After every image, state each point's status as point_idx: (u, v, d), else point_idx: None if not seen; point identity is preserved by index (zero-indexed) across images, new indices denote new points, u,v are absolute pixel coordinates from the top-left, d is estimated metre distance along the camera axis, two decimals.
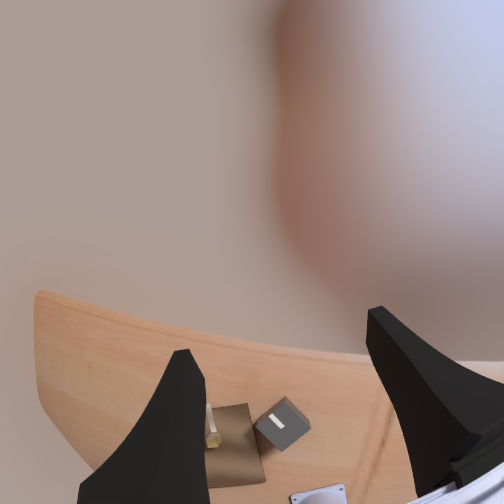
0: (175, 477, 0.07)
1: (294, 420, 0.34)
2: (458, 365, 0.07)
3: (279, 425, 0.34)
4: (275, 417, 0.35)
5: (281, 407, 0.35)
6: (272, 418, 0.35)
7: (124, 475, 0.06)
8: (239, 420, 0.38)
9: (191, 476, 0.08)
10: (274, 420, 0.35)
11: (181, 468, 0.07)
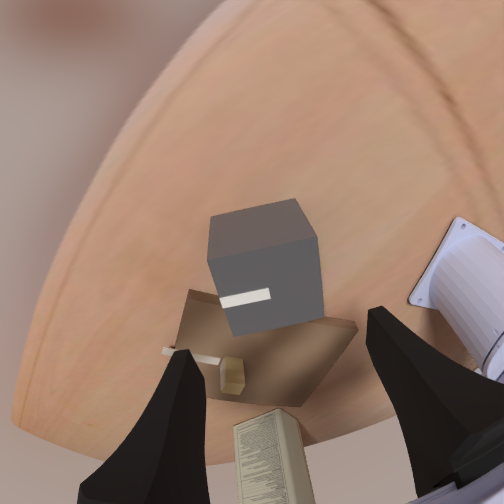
0: (175, 477, 0.07)
1: (269, 262, 0.14)
2: (458, 365, 0.07)
3: (260, 296, 0.15)
4: (234, 296, 0.15)
5: (216, 273, 0.14)
6: (231, 302, 0.15)
7: (124, 475, 0.06)
8: (215, 322, 0.21)
9: (191, 476, 0.08)
10: (240, 301, 0.15)
11: (181, 468, 0.07)
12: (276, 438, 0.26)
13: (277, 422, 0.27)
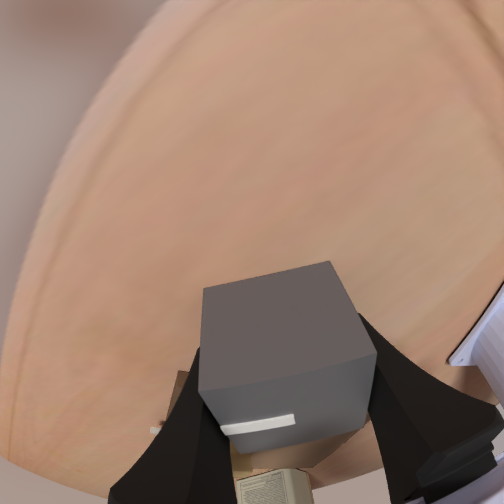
0: (209, 476, 0.07)
1: (297, 389, 0.08)
2: (431, 377, 0.07)
3: (279, 421, 0.09)
4: (242, 424, 0.09)
5: (213, 404, 0.08)
6: (238, 429, 0.09)
7: (159, 477, 0.06)
8: None
9: (221, 474, 0.08)
10: (251, 428, 0.09)
11: (213, 466, 0.07)
12: (285, 499, 0.20)
13: (286, 482, 0.21)
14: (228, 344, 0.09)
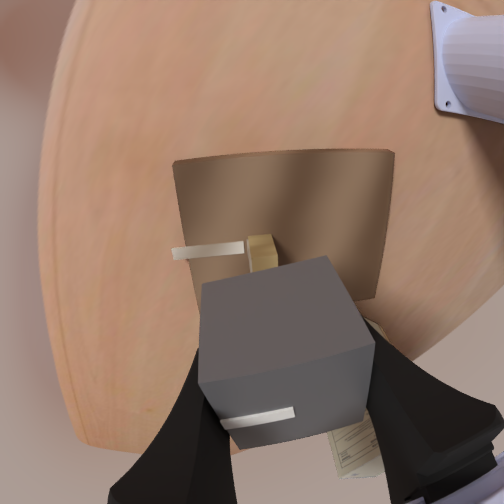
0: (208, 476, 0.07)
1: (296, 381, 0.08)
2: (431, 377, 0.07)
3: (279, 415, 0.09)
4: (241, 418, 0.09)
5: (213, 397, 0.08)
6: (237, 423, 0.09)
7: (159, 476, 0.06)
8: (215, 186, 0.17)
9: (221, 474, 0.08)
10: (251, 422, 0.09)
11: (213, 466, 0.07)
12: None
13: None
14: (227, 337, 0.09)
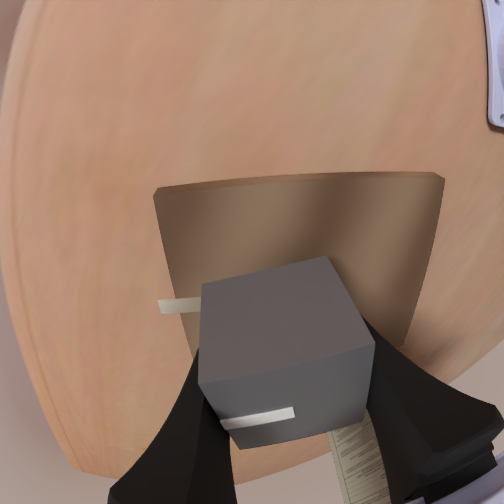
0: (208, 476, 0.07)
1: (296, 381, 0.08)
2: (431, 377, 0.07)
3: (279, 415, 0.09)
4: (241, 418, 0.09)
5: (213, 397, 0.08)
6: (238, 423, 0.09)
7: (158, 476, 0.06)
8: (213, 224, 0.12)
9: (221, 474, 0.08)
10: (251, 422, 0.09)
11: (213, 466, 0.07)
12: None
13: None
14: (227, 337, 0.09)
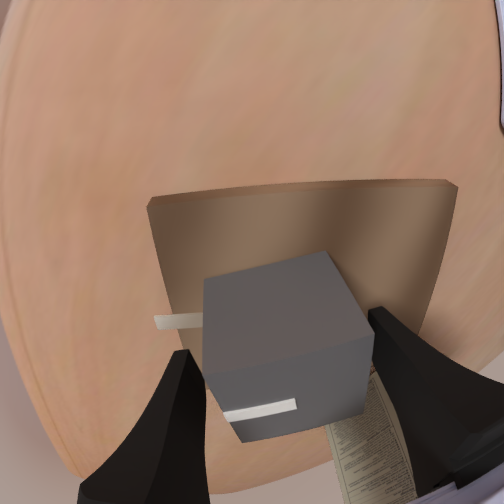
0: (175, 477, 0.07)
1: (298, 372, 0.09)
2: (458, 365, 0.07)
3: (281, 407, 0.09)
4: (244, 410, 0.09)
5: (217, 388, 0.09)
6: (240, 415, 0.09)
7: (124, 475, 0.06)
8: (212, 237, 0.12)
9: (191, 476, 0.08)
10: (253, 414, 0.09)
11: (181, 468, 0.07)
12: (386, 415, 0.16)
13: (382, 390, 0.17)
14: (230, 330, 0.09)
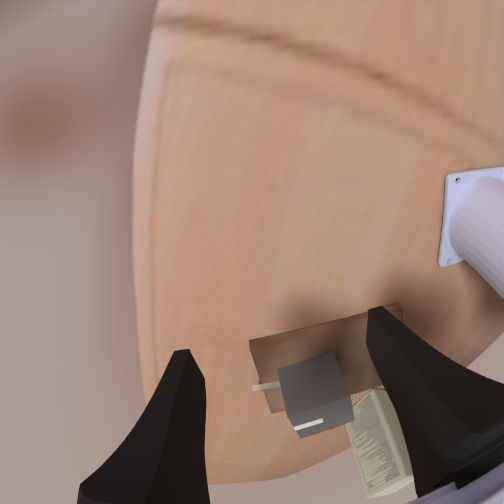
0: (175, 477, 0.07)
1: (322, 410, 0.21)
2: (458, 365, 0.07)
3: (317, 421, 0.22)
4: (302, 425, 0.22)
5: (292, 419, 0.21)
6: (300, 427, 0.22)
7: (124, 475, 0.06)
8: (280, 355, 0.24)
9: (191, 476, 0.08)
10: (306, 426, 0.22)
11: (181, 468, 0.07)
12: (377, 415, 0.28)
13: (375, 401, 0.29)
14: (294, 396, 0.22)
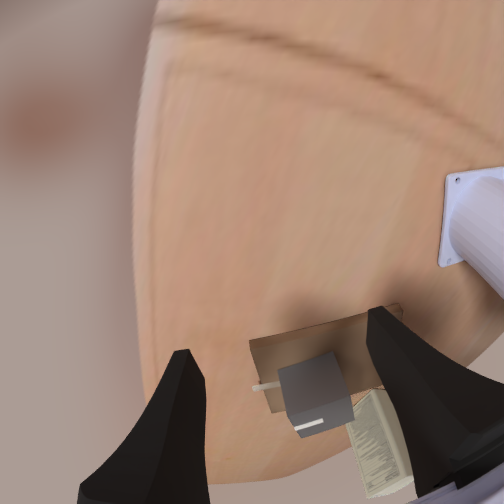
0: (175, 477, 0.07)
1: (322, 410, 0.21)
2: (458, 365, 0.07)
3: (317, 421, 0.22)
4: (302, 425, 0.22)
5: (292, 419, 0.21)
6: (301, 427, 0.22)
7: (124, 475, 0.06)
8: (280, 355, 0.24)
9: (191, 476, 0.08)
10: (306, 426, 0.22)
11: (181, 468, 0.07)
12: (377, 415, 0.28)
13: (375, 401, 0.29)
14: (294, 396, 0.22)
